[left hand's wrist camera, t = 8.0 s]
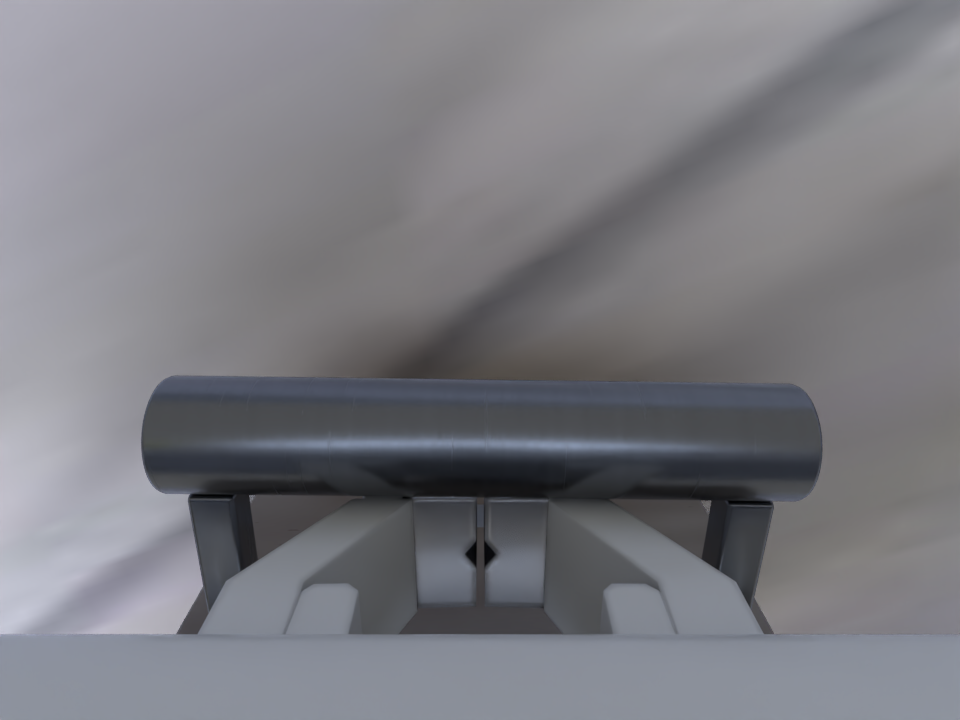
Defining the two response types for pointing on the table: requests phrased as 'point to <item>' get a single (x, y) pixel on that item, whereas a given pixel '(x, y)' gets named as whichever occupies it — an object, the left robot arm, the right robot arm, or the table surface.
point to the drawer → (478, 463)
